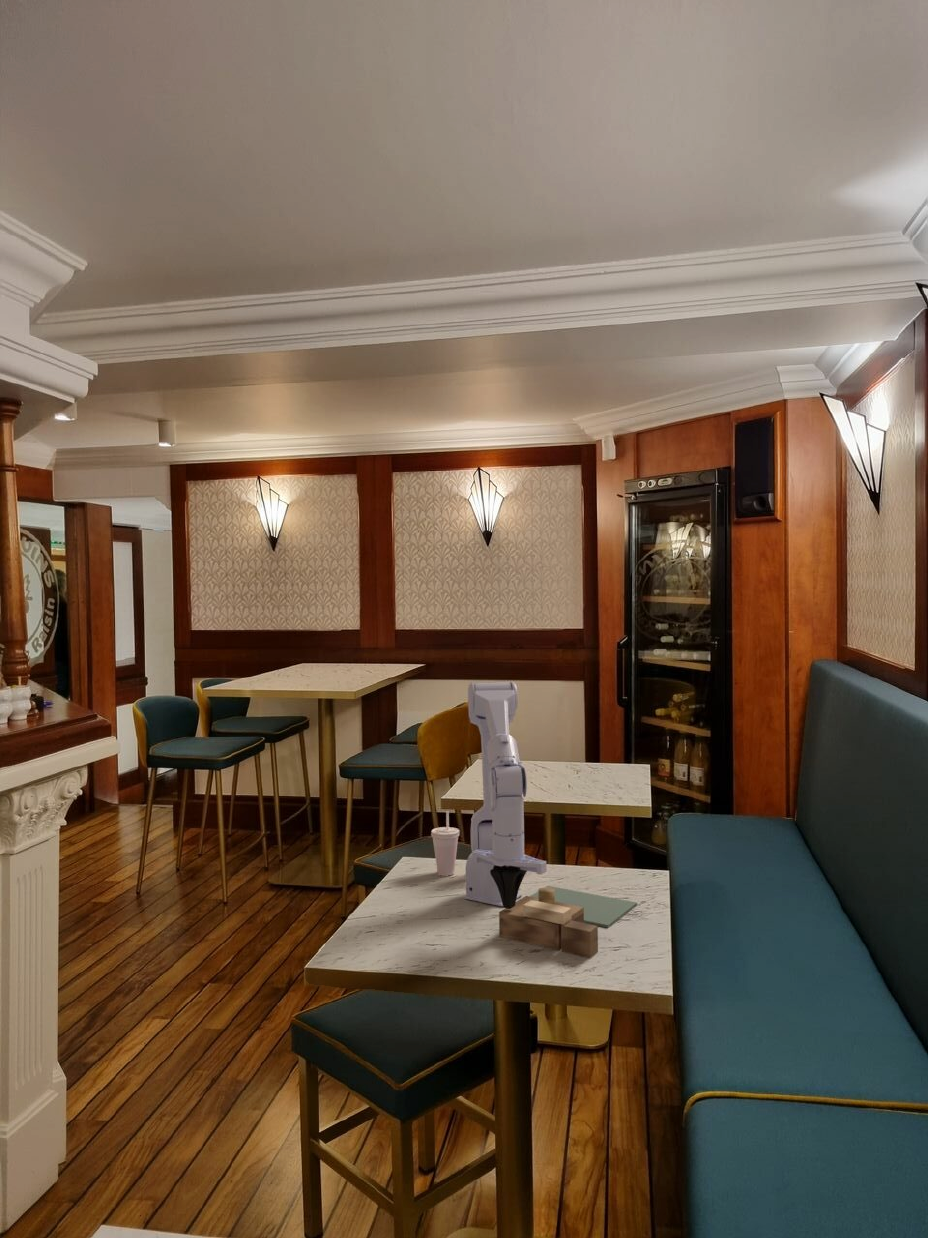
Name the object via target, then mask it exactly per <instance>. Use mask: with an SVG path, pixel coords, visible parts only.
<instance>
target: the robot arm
mask: <svg viewBox="0 0 928 1238" xmlns="http://www.w3.org/2000/svg"><path fill="white" fill-rule="evenodd" d="M518 695H519V694H518V686H517V684H516V683H515V682H514V681H506V682H505V681H503V682H502V681H500V682H499V681H498V682H470V683H469V684H468V686H467V705H468V718H469V722H470V724H473V725H476V726H477V727H478V730H479V734H480V743H481V767H482V769H481V770H482V791H483V792H482V793H483V794H482V795H483V796H482V797H483V805H482V806H481V807H480V808H479V809H478V810H477V811H475V812H474V813H473V814H472V817H471V819H470V821H471V822H470V847H471V848H470V849H471V852H470V854H469V856H468V857H467V860H466V863H465V895H464V896H463V898H464V899H465V900H468V901H469V900H470V901H473V902H474V901H475V902H478V903H479V902H480V903H485V904H487V905H488V904H489V905H493V906H498V907H503V909H505V908H507V909H511V908H512V907H514V906H515V903H516V902H517V899H518V898H521V897H522V896H523V893H522V892H519V890H520V887H521V885H522V881H523V880H524V878H525V876H526V874H527V873H528V872H531V873H536V875H543V874H545V873H547V868H548V867H547V860H542V859H539V858H535V857H533V856H530V855H527V854H525V817H524V816H525V815H524V812H525V811H524V810H525V809H524V807H525V806H524V804H525V803H524V798H525V797H527V790H528V778H527V771H526V767H525V765H524V764H523V761H521V760H520V754H519V749H518V742H517V740H516V738H514V737H513V736H512V735H510V723H512V722H513V720H514V718H515V716H516V713H517V709H518V702H519V699H518V698H519V696H518ZM482 821H492V822H482Z"/></svg>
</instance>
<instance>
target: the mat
mask: <svg viewBox="0 0 928 1238" xmlns="http://www.w3.org/2000/svg"><path fill="white" fill-rule="evenodd" d="M545 887H548V888H553V889H554V890H555V902H559V903H564V904H569V905H574V906H579V907H584V923H586V924H591V925H595V926H598V927H602V928H607V929H609V928H610V927H611V926H613V925H614V924H615V923H616V922H617V921H619V920H620V919H622V918H623V917H624V916H626V915H627V914H628V913H629V912H631V911H632V910H633V909H634V908H636V907H637V906H638V902H635V901H630V900H624V899H619V898H614V897H610V896H605V895H599V894H593V893H588V892H582V891H579V890H578V891H577V890H573V889H567V888H562V887H561V888H560V887H556V886H552V885H546V886H545ZM529 897H534V898H539V897H538V891H536V892H535V893H533V894H531V895H530V896H529Z"/></svg>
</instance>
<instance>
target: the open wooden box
mask: <svg viewBox="0 0 928 1238" xmlns="http://www.w3.org/2000/svg"><path fill="white" fill-rule="evenodd" d="M498 922H499V923H498V924H499V925H498V927H499V932H498V933H499V937H500V938H503V939H507V940H511V941H516V942H521V943H524V944H529V945H533V946H538V947H542V948H547V949H550V950H554V951H560V950H561V952H564V953H567V954H571V955H572V954H573V955H576V956H580V957H585V958H589V959H591V958H593V957H594V956H595V955H596V954H597V953H598V952H599V935H598V934H599V932H598V930H599V928H598V927H599V926H597V925H592V924H587V923H584V913H583V914H581V915H580V916H578V917H577V918H576V919H574V920H573V921H572V920H570V921H568V922H567V923H566V924H564V925H561V929H560V930H559V931H558V930H554V929H549V928H545V927H540V926H536V925H531V924H527V923H522V922H517V921H513V920H508V919H504V918H499V917H498Z"/></svg>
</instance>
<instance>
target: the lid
mask: <svg viewBox="0 0 928 1238" xmlns="http://www.w3.org/2000/svg"><path fill="white" fill-rule="evenodd" d="M537 892H538V897H539V898H534V897H530V896H528V895H525V896H523V897H522V898H520V899H519V900H516V903H515V906H514V907H512V908H511V909H507V908H503V909H502V910H500V911H499V912H498V919H499V918H504V919H508V920H513V921H517V922H522V923H527V924H531V925H536V926H540V927H545V928H549V929H554V930H558V931H559V930H560V929H561V925H562V924H558V923H553V922H548V921H544V920H539V919H534V918H530V917H525V916H523V905H524V904H525V903H527V902H529V901H530V900H534V901H539V902H544V903H549V904H554V905H559V906H564V907H569V908H571V920H572V921H573V920H574V919H576V918H577V917H578V916H580V915H581V914H583V913H584V907H579V906H574V905H569V904H564V903H559V902H555V890H554V889H553V888H548V887H546V886H544V887H540V888H538V890H537Z"/></svg>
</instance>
